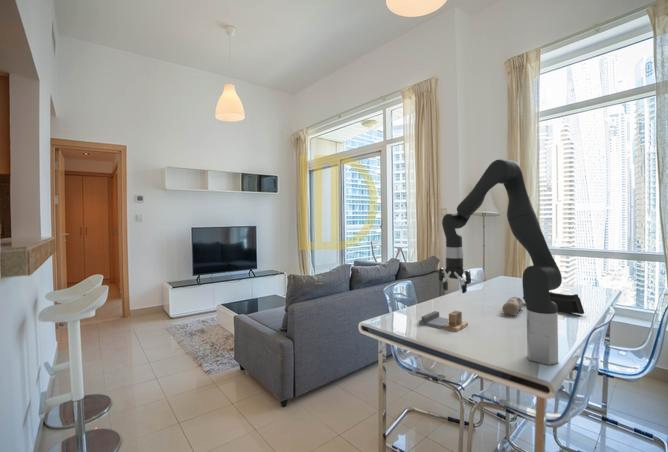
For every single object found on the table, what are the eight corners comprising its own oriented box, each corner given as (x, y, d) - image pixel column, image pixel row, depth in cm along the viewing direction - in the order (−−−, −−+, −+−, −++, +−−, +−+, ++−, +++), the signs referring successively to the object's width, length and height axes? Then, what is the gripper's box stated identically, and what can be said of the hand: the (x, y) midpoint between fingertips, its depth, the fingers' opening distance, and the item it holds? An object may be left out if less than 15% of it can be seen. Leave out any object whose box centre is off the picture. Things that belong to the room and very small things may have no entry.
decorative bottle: (518, 317, 162) (518, 304, 162) (502, 314, 167) (501, 302, 167) (526, 305, 182) (526, 294, 182) (511, 304, 187) (511, 292, 187)
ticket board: (441, 328, 147) (441, 321, 147) (418, 323, 155) (418, 316, 155) (454, 322, 156) (454, 314, 156) (431, 317, 164) (431, 310, 164)
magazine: (589, 299, 159) (533, 273, 185) (586, 299, 158) (529, 274, 184) (579, 328, 164) (525, 300, 190) (575, 330, 162) (521, 300, 188)
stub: (456, 331, 142) (456, 317, 142) (442, 328, 147) (442, 314, 147) (468, 325, 151) (467, 311, 151) (454, 322, 155) (454, 308, 155)
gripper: (436, 256, 151) (436, 290, 151) (466, 258, 141) (466, 295, 141) (443, 255, 156) (444, 288, 156) (473, 256, 146) (473, 292, 146)
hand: (454, 291), depth 149 cm, fingers open, 8 cm apart
